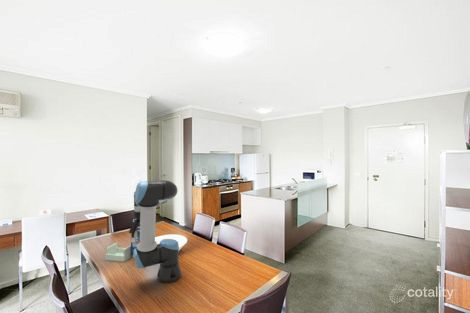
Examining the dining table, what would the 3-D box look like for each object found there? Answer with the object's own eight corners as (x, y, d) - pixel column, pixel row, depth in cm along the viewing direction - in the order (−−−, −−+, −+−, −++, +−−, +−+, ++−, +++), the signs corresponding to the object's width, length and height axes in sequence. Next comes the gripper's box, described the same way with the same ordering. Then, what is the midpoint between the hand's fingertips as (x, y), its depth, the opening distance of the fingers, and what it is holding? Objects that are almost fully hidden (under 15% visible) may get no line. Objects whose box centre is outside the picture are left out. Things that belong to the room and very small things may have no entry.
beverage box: (140, 261, 158) (140, 231, 158) (130, 257, 164) (130, 229, 164) (148, 257, 164) (147, 228, 164) (138, 254, 170) (138, 226, 170)
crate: (134, 254, 169) (134, 243, 169) (123, 262, 157) (123, 250, 157) (117, 252, 172) (117, 241, 172) (105, 260, 159) (105, 248, 159)
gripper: (144, 206, 177) (144, 231, 177) (123, 215, 152) (123, 244, 153) (152, 207, 176) (152, 232, 176) (133, 215, 151) (133, 245, 151)
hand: (139, 238), depth 164 cm, fingers open, 13 cm apart
